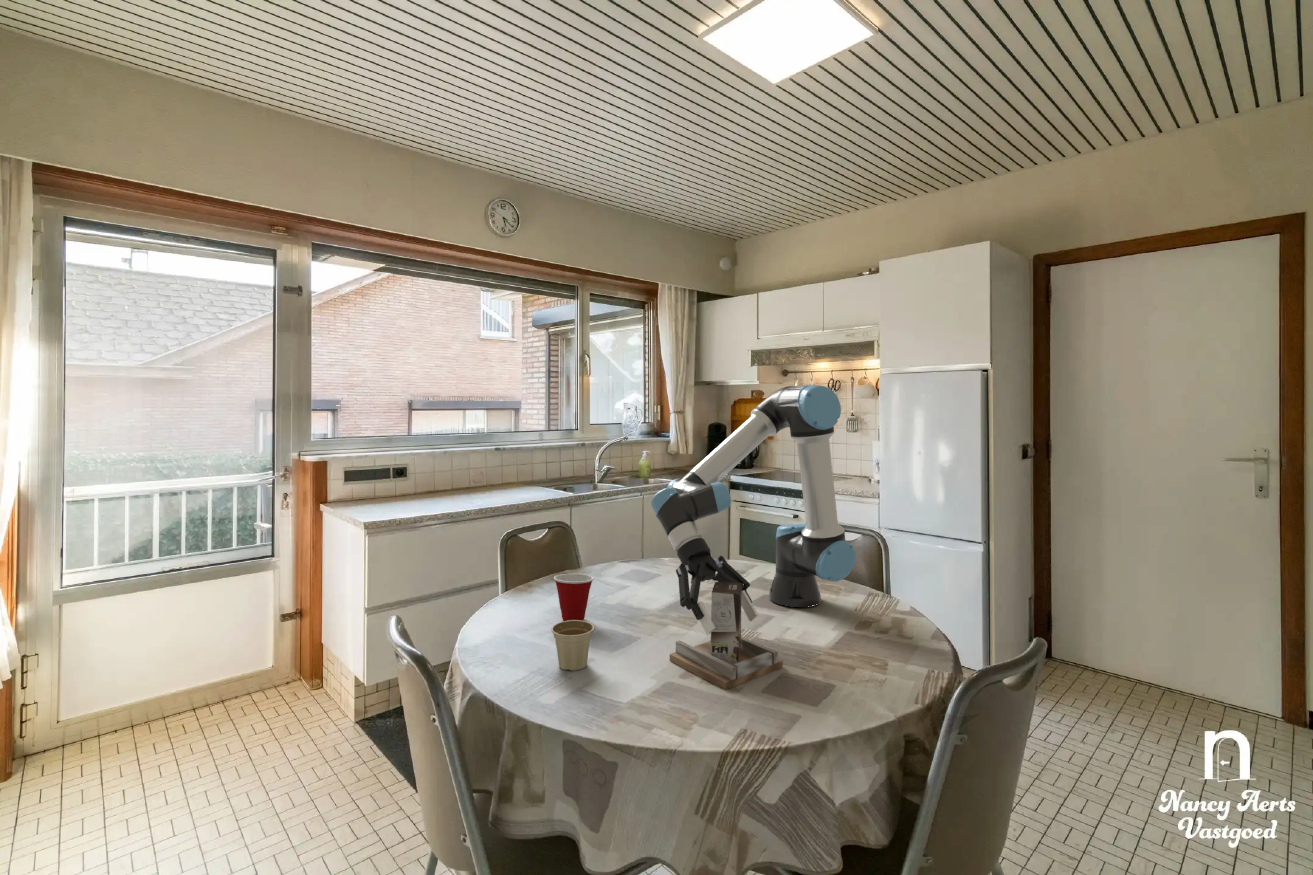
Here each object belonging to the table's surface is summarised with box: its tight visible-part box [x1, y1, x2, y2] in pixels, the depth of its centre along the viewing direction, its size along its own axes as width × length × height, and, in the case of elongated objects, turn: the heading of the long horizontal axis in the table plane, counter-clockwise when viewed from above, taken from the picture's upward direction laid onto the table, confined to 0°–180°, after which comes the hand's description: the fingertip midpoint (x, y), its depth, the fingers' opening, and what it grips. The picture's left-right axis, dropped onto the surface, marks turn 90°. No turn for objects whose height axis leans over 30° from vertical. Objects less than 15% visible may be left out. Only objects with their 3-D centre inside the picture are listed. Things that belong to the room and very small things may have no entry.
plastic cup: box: [553, 573, 595, 622], centre depth 165 cm, size 11×11×12 cm
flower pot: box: [551, 620, 595, 671], centre depth 136 cm, size 9×9×9 cm
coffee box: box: [710, 581, 742, 666], centre depth 138 cm, size 9×6×16 cm
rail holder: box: [669, 636, 784, 690], centre depth 138 cm, size 18×18×4 cm
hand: (733, 624), depth 136 cm, fingers open, 13 cm apart
